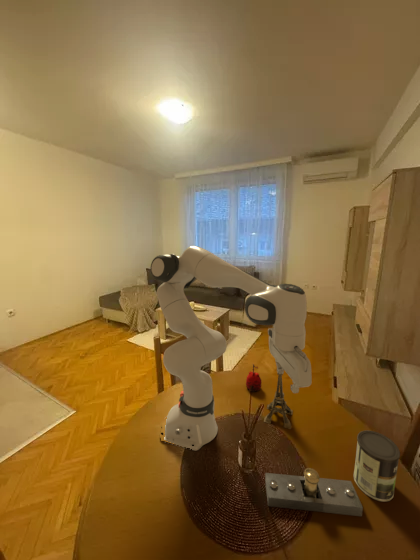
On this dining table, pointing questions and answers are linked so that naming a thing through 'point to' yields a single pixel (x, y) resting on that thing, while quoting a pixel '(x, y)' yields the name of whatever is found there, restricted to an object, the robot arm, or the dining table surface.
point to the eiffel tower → (281, 402)
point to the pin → (310, 482)
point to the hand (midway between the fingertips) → (286, 381)
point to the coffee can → (376, 465)
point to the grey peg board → (330, 492)
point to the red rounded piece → (253, 381)
